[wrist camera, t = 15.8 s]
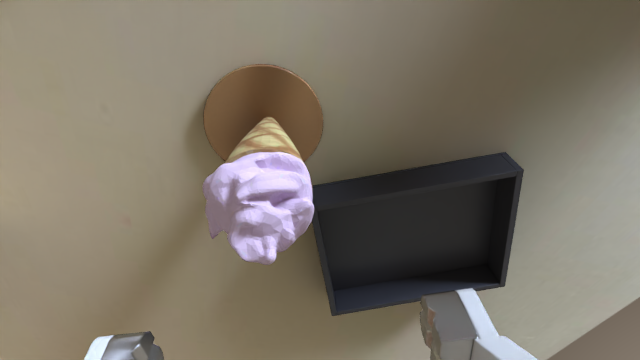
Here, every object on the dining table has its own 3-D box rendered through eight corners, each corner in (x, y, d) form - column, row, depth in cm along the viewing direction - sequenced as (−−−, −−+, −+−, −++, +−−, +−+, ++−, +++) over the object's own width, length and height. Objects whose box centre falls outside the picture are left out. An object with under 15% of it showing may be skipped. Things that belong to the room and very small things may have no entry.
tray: (505, 151, 37) (524, 169, 34) (491, 264, 45) (505, 286, 42) (307, 186, 37) (309, 207, 34) (328, 292, 45) (331, 316, 42)
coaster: (322, 61, 31) (322, 63, 30) (323, 169, 36) (323, 172, 36) (194, 66, 30) (192, 68, 30) (214, 175, 35) (213, 178, 35)
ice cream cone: (239, 164, 34) (215, 297, 22) (212, 99, 31) (166, 213, 18) (311, 146, 34) (330, 270, 21) (292, 78, 31) (302, 180, 18)
